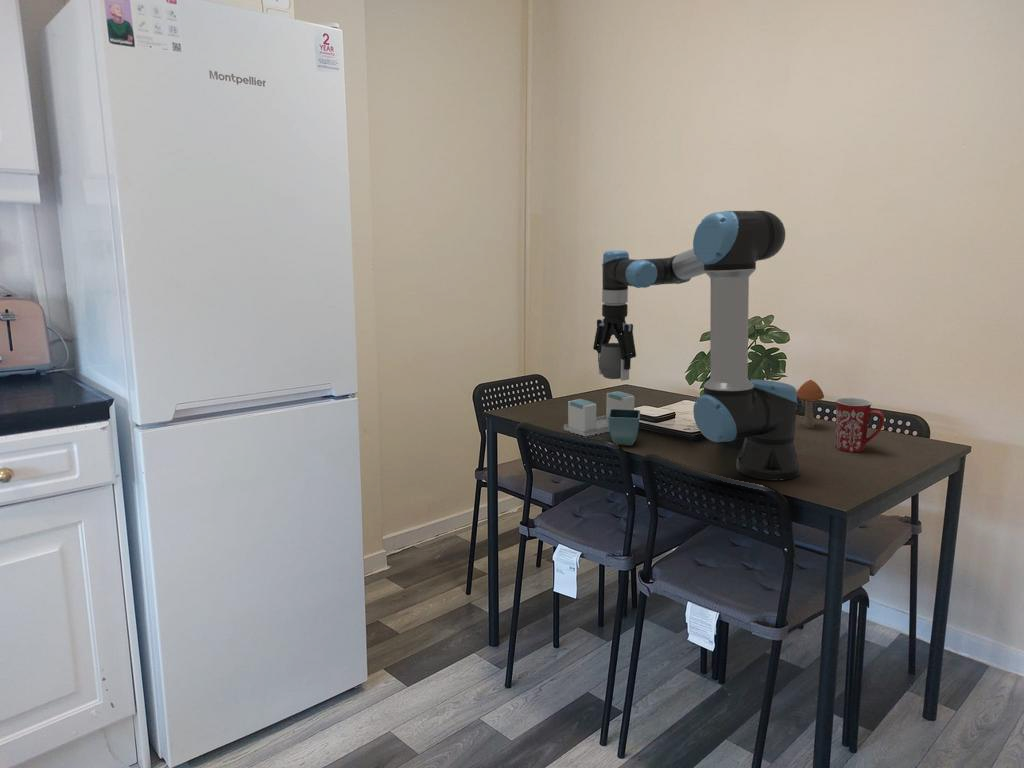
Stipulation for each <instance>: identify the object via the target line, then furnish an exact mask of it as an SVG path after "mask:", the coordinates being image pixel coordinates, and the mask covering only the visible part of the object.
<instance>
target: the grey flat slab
mask: <svg viewBox="0 0 1024 768" xmlns="http://www.w3.org/2000/svg"><path fill="white" fill-rule="evenodd" d="M563 431H566V432H568V431H569V432H568V433H571V434H573V433H575V434H574V435H576V434H579V435H583V436H589V435H593V436H596V435H595V434H597V435H601V434H600V433H602V434H606V433H610V431H609V421H608V418H606V415H600V416H596V429H592V430H587V431H583V432H582V431H580V430H577V429H574V428H571V427H569V426H568V423H565V424H563ZM605 432H606V433H605ZM579 435H578V436H579ZM589 437H590V436H589Z"/></svg>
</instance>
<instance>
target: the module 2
mask: <svg viewBox="0 0 1024 768" xmlns="http://www.w3.org/2000/svg"><path fill="white" fill-rule="evenodd" d="M605 399H606V408H605V409H606V411H605V412H606V418H608V416H609V412H610V409H622V410H635V395H633V394H630V393H627V392H623V391H619V390H618V391H612V392H607V393H606V398H605Z"/></svg>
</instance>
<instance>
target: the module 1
mask: <svg viewBox="0 0 1024 768" xmlns="http://www.w3.org/2000/svg"><path fill="white" fill-rule="evenodd" d="M567 403H568V404H567V407H568V408H567V411H568V412H567V416H568V417H567V424H568V426H569V427H571V428H574V429H577V430H580V431H582V432H583V431H587V430H592V429H596V417H597V403H595V402H593V401H590V400H586V399H582V398H578V399H574V400H569V401H567Z"/></svg>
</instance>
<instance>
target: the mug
mask: <svg viewBox="0 0 1024 768" xmlns="http://www.w3.org/2000/svg"><path fill="white" fill-rule="evenodd" d="M872 403H873V402H872V401H871V400H869V399H864V398H860V397H839V398H836V399H835V404H836V406H835V448H836V449H838V450H840V451H843V452H847V453H848V452H849V453H859V452H864V451H865V449H866V444H868V443H869V442H871V441H872V440H873V439H874V438H875V437H876V436H877V435H879V433H880V432H881V430H883V427H884V424H885V416H884V414H883V413H882V412H881V411H879V410H876V409H875V410H871V406H872ZM873 415H877V416H878V417H879V422H880V423H879V425H878V427H877V429H876V430H875V431H874V432H873V434H871V435H870V436H869V437H867V435H868V434H867V433H868V427H869V420H870V419H871V417H872V416H873Z"/></svg>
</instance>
